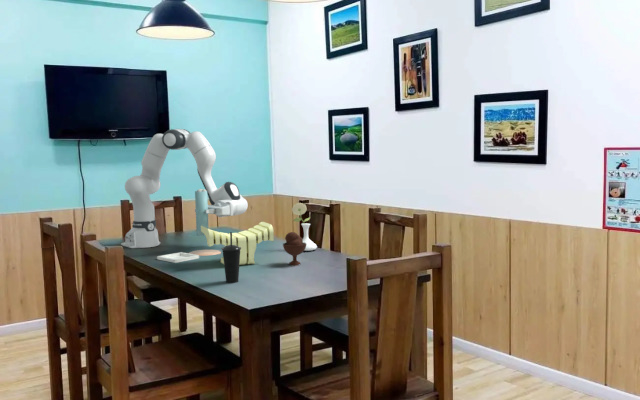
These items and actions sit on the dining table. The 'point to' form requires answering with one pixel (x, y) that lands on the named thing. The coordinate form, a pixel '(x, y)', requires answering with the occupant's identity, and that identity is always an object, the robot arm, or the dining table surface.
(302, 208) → the flower in vase
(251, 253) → the slatted curved stool
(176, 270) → the dining table surface
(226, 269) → the drinking cup
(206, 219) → the teal cylinder
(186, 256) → the tray
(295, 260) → the ice cream bowl
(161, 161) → the robot arm
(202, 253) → the terracotta plate
